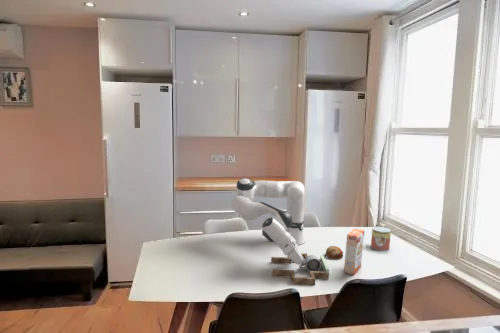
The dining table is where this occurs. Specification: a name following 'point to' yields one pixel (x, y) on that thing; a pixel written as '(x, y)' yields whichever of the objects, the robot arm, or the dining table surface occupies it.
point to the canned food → (380, 238)
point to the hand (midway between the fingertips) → (305, 262)
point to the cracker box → (353, 251)
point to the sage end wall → (324, 265)
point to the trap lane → (290, 273)
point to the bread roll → (334, 252)
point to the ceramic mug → (311, 264)
